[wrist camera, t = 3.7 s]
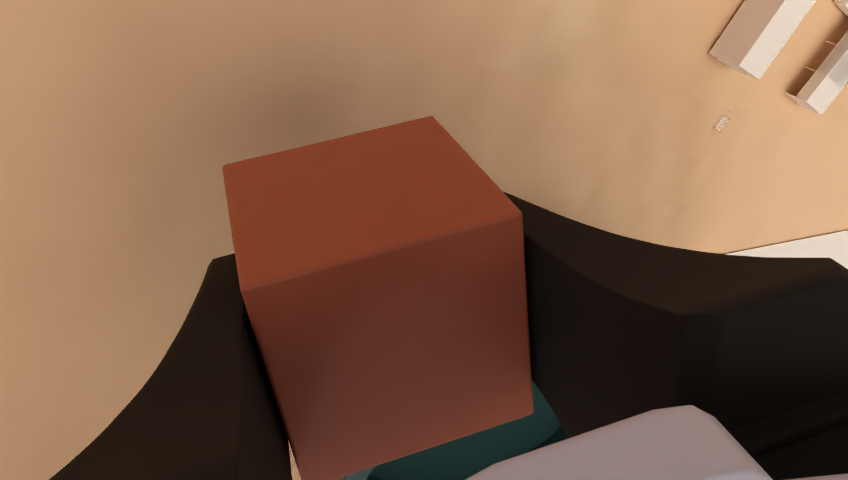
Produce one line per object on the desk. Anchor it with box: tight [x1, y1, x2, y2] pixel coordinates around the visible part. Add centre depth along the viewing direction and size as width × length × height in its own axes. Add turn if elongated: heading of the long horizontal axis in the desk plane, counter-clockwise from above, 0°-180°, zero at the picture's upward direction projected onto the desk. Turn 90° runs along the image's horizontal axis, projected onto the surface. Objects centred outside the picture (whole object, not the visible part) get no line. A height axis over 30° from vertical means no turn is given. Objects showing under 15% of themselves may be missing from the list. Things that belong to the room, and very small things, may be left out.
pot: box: [335, 381, 568, 480], centre depth 25 cm, size 13×13×6 cm
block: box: [222, 116, 534, 480], centre depth 13 cm, size 4×4×4 cm
